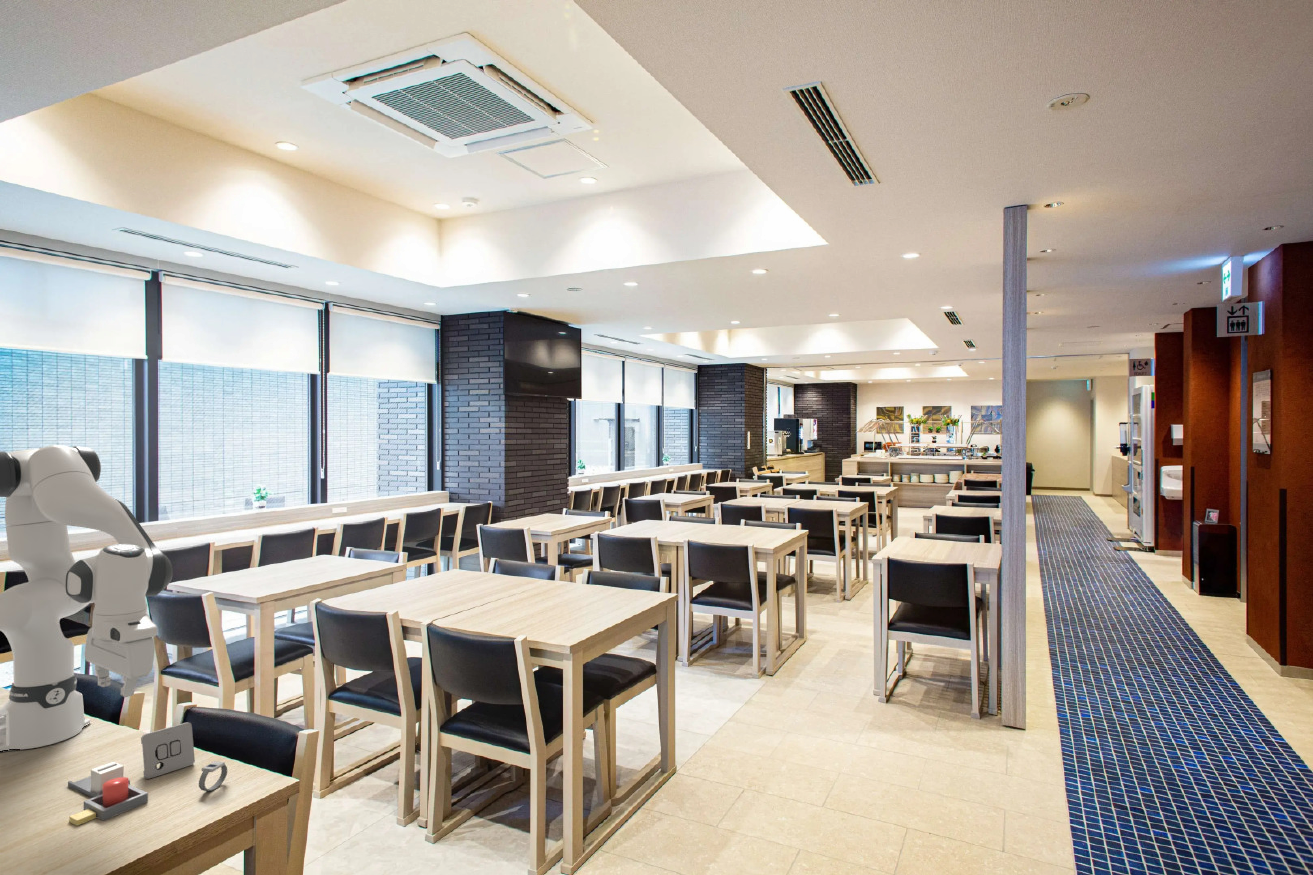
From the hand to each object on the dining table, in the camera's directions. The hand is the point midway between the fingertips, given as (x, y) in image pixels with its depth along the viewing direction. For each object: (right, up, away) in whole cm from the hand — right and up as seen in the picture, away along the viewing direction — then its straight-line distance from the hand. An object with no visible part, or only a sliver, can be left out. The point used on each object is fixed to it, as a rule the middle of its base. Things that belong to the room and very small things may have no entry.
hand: (115, 690), depth 141 cm
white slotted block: (-2, -21, 0) cm, 21 cm away
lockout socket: (+4, -21, -7) cm, 22 cm away
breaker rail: (-5, -21, +2) cm, 22 cm away
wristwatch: (+19, -21, +2) cm, 29 cm away
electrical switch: (+3, -21, +10) cm, 24 cm away
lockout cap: (+4, -21, -5) cm, 22 cm away
